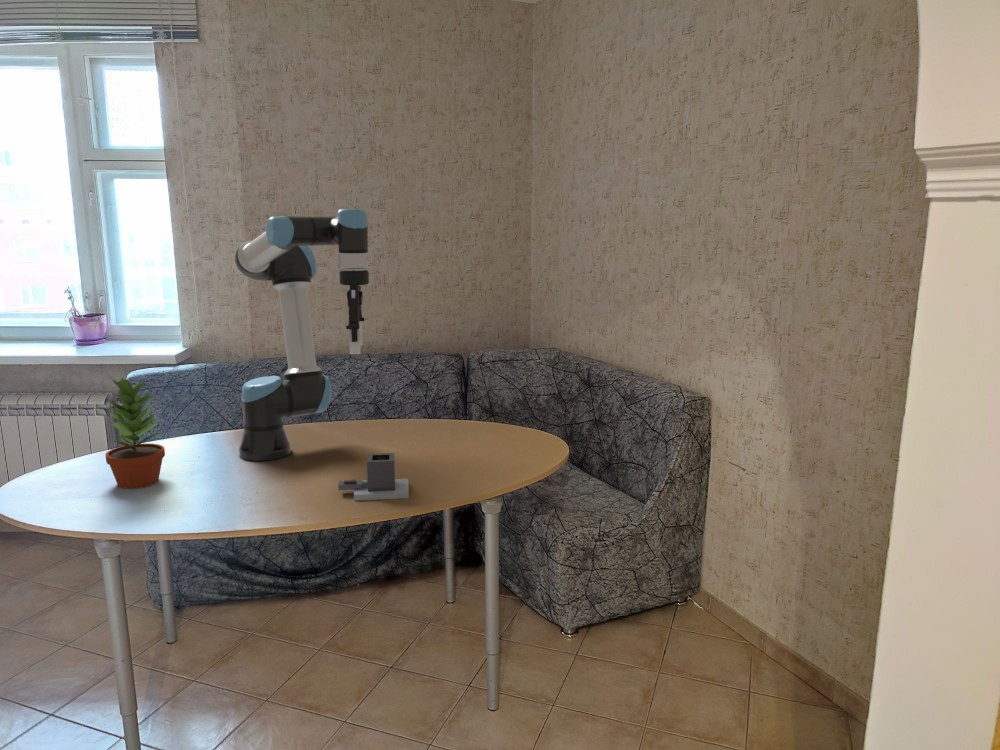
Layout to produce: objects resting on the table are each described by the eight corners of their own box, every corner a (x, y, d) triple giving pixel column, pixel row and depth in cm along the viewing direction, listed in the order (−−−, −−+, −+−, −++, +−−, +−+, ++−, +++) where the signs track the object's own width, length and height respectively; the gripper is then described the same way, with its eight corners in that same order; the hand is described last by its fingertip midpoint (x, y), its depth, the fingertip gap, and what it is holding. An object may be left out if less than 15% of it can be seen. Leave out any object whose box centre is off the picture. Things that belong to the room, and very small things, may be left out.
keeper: (353, 500, 194) (352, 472, 193) (356, 485, 205) (355, 459, 203) (408, 498, 196) (408, 470, 194) (408, 483, 207) (407, 457, 205)
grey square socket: (337, 492, 195) (336, 463, 194) (339, 483, 202) (338, 454, 200) (395, 490, 197) (394, 461, 196) (395, 481, 204) (394, 453, 202)
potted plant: (180, 478, 210) (171, 372, 204) (130, 495, 197) (119, 382, 191) (146, 469, 217) (137, 366, 211) (96, 484, 204) (84, 376, 198)
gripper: (366, 272, 186) (369, 357, 190) (370, 266, 210) (372, 342, 215) (335, 272, 185) (338, 358, 189) (342, 266, 209) (345, 342, 214)
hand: (356, 349), depth 202 cm, fingers open, 13 cm apart
